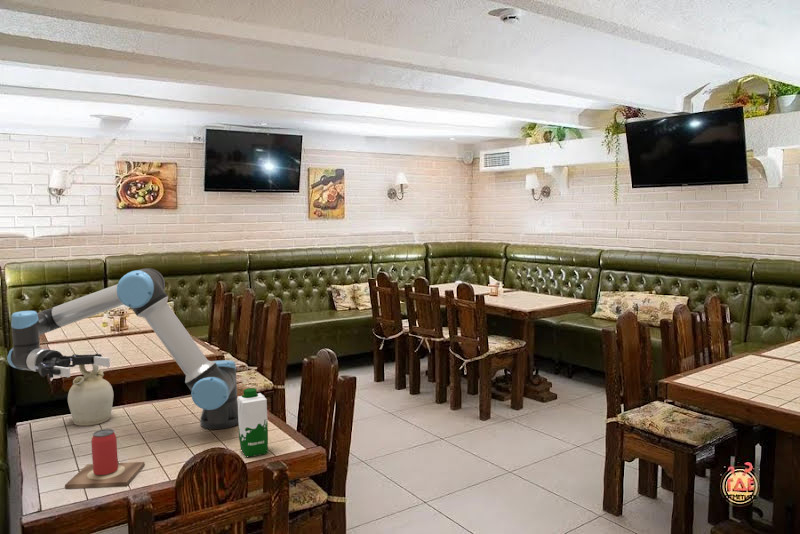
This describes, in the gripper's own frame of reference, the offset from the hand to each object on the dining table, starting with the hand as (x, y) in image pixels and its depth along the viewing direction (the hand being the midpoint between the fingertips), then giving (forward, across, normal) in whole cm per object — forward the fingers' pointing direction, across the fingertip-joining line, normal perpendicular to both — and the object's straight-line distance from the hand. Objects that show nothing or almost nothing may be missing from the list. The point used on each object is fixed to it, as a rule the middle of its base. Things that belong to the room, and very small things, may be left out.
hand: (89, 367), depth 186 cm
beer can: (+13, +6, -29) cm, 32 cm away
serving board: (+14, +6, -30) cm, 34 cm away
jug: (-36, -25, -30) cm, 53 cm away
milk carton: (+42, -26, -30) cm, 58 cm away
